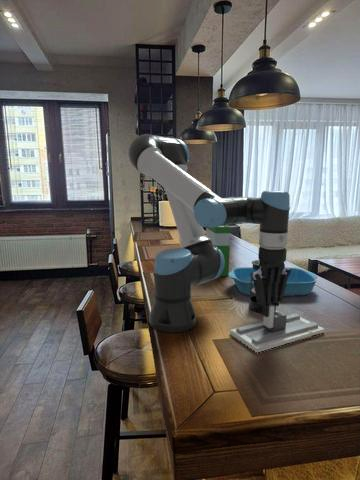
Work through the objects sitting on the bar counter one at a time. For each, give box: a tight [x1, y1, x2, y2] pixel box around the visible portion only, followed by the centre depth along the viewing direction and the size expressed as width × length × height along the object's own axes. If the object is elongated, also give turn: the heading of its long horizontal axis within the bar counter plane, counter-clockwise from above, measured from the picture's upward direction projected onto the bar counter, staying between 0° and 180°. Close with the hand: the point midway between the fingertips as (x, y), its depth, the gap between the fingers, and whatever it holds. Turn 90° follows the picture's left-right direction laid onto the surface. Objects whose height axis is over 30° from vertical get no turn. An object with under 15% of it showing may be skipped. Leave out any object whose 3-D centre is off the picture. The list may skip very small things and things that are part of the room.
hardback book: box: [205, 225, 231, 277], centre depth 159 cm, size 18×7×24 cm, turn 9°
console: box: [229, 312, 325, 354], centre depth 95 cm, size 26×12×2 cm, turn 117°
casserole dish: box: [228, 266, 318, 297], centre depth 135 cm, size 37×22×7 cm, turn 91°
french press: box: [248, 259, 263, 314], centre depth 112 cm, size 12×9×23 cm
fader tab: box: [264, 309, 288, 333], centre depth 94 cm, size 4×4×6 cm
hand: (268, 325), depth 93 cm, fingers closed
